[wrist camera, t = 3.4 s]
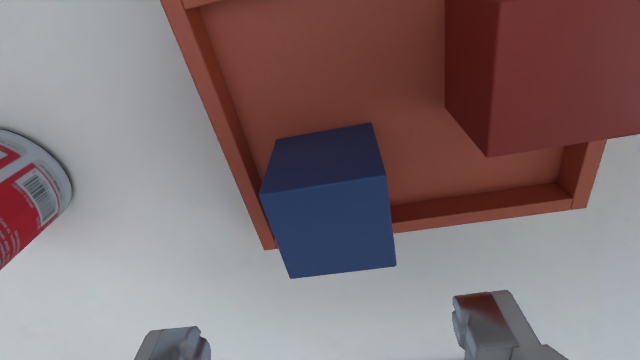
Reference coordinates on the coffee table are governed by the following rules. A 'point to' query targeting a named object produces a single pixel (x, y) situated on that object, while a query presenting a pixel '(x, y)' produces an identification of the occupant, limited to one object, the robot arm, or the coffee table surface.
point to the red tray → (362, 106)
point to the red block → (542, 72)
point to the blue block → (329, 202)
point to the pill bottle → (27, 193)
